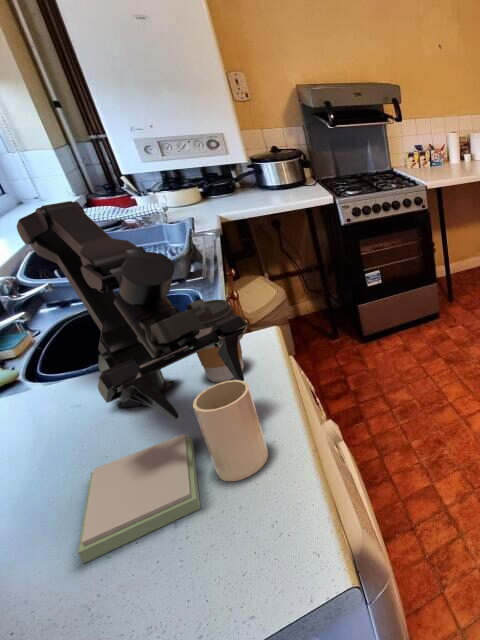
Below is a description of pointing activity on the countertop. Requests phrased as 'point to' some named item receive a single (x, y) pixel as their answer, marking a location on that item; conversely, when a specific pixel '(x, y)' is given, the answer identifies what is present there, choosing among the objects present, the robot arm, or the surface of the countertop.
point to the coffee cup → (209, 355)
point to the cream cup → (231, 429)
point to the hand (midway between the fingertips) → (211, 399)
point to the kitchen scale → (138, 496)
